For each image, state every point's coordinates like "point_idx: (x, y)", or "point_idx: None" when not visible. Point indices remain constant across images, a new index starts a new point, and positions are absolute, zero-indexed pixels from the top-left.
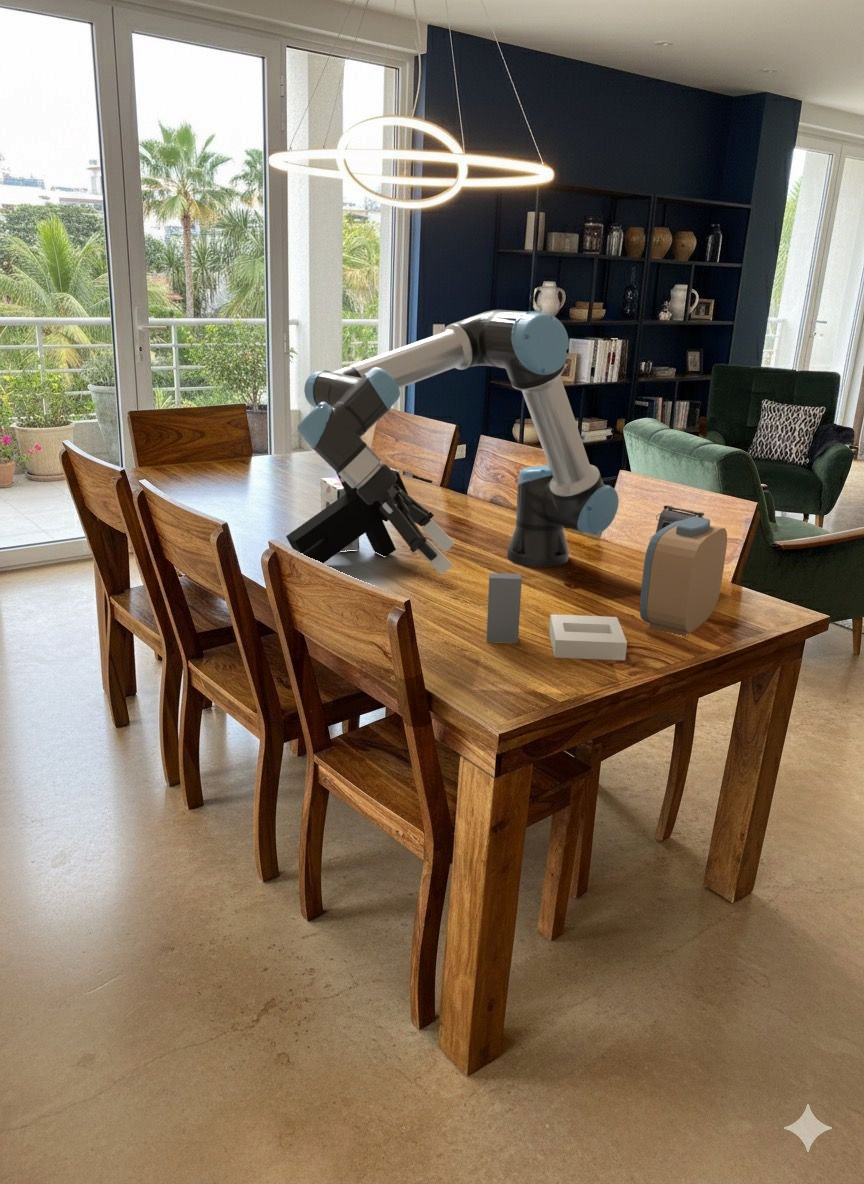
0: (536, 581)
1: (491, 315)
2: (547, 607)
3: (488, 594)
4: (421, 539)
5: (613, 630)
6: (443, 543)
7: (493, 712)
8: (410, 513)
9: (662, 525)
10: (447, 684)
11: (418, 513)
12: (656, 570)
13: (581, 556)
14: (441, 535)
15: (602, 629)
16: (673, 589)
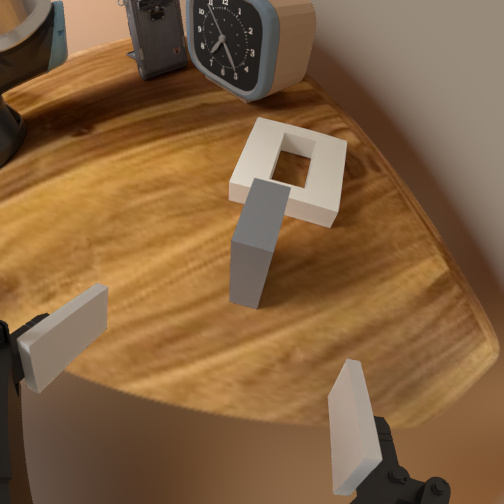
0: (48, 163)
1: None
2: (137, 174)
3: (241, 268)
4: (447, 485)
5: (305, 136)
6: (92, 323)
7: (473, 353)
8: (20, 466)
9: (139, 5)
10: (408, 406)
11: (11, 416)
12: (284, 39)
13: (20, 108)
14: (77, 322)
15: (281, 143)
16: (298, 52)
